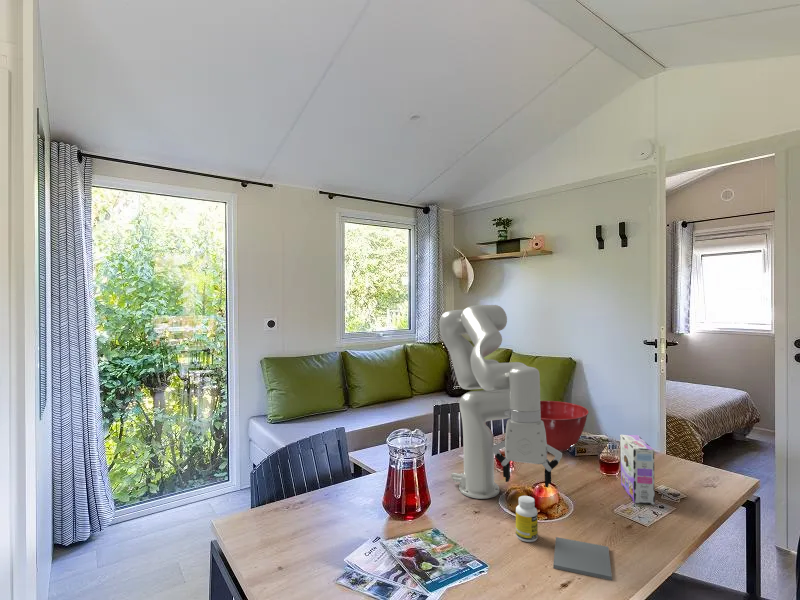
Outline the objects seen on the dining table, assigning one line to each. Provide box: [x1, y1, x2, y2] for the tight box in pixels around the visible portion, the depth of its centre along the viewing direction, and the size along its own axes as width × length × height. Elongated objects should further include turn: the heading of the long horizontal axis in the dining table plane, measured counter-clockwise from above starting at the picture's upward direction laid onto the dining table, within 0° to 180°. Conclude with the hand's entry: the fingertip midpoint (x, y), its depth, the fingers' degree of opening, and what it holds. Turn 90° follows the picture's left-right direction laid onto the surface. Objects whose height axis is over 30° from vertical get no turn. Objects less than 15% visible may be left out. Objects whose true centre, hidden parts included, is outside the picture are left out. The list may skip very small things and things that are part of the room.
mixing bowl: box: [540, 400, 589, 453], centre depth 176 cm, size 28×28×16 cm
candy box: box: [619, 434, 656, 506], centre depth 134 cm, size 14×6×16 cm, turn 168°
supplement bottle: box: [515, 495, 539, 543], centre depth 112 cm, size 5×5×10 cm
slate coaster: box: [552, 536, 613, 581], centre depth 102 cm, size 12×12×1 cm
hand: (527, 482), depth 111 cm, fingers open, 9 cm apart
